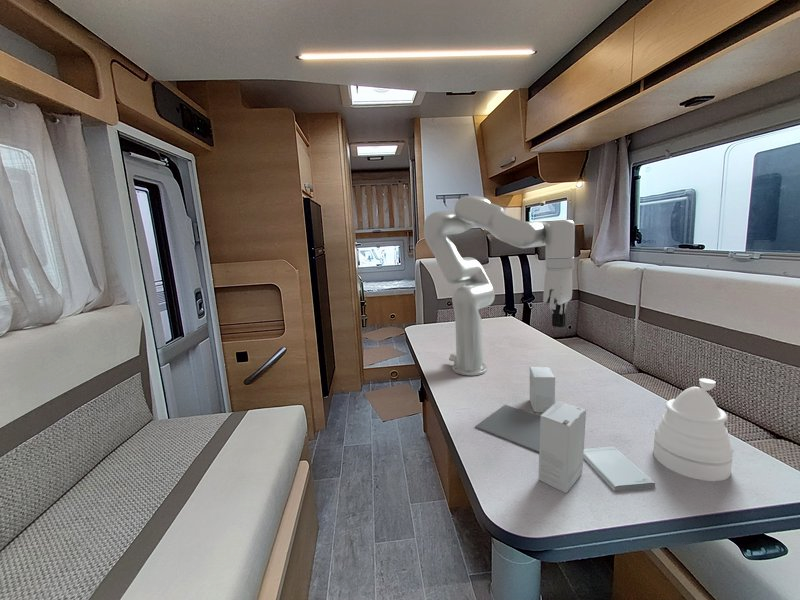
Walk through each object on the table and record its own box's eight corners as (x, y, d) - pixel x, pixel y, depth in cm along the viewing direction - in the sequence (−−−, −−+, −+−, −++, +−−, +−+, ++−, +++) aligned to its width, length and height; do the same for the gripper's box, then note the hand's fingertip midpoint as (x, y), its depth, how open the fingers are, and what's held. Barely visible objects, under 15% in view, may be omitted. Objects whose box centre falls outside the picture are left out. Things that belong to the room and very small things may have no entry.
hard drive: (655, 482, 69) (614, 445, 81) (614, 486, 69) (579, 448, 81) (655, 490, 70) (613, 452, 82) (614, 493, 69) (578, 455, 81)
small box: (554, 413, 99) (555, 377, 97) (533, 412, 100) (533, 376, 98) (549, 400, 106) (549, 366, 105) (529, 399, 108) (529, 366, 106)
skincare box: (555, 462, 78) (557, 398, 76) (584, 474, 74) (587, 407, 71) (537, 481, 73) (538, 413, 70) (567, 496, 68) (569, 424, 66)
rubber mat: (475, 427, 94) (475, 426, 94) (505, 405, 105) (505, 404, 104) (551, 458, 80) (552, 456, 80) (577, 429, 90) (577, 427, 90)
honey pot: (694, 442, 83) (702, 368, 80) (749, 479, 70) (760, 393, 67) (639, 445, 83) (645, 371, 80) (684, 483, 70) (692, 397, 67)
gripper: (556, 261, 111) (556, 319, 114) (535, 266, 100) (534, 330, 104) (582, 261, 105) (581, 322, 109) (562, 266, 95) (561, 333, 98)
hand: (558, 326), depth 106 cm, fingers closed
